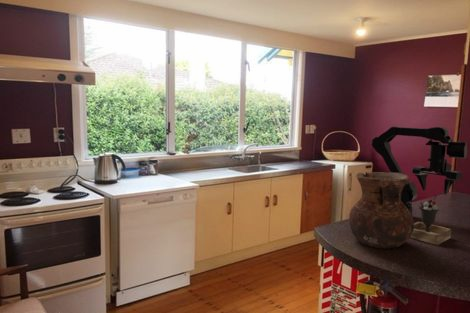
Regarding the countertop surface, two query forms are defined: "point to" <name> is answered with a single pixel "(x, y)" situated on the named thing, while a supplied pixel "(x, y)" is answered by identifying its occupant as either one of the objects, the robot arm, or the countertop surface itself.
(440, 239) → the cream square tray
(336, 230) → the countertop surface
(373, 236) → the jug
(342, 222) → the countertop surface
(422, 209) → the sundae
